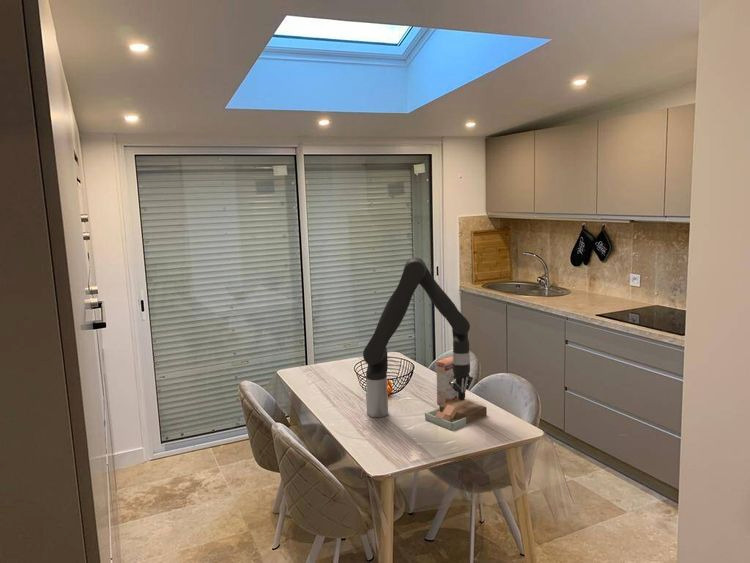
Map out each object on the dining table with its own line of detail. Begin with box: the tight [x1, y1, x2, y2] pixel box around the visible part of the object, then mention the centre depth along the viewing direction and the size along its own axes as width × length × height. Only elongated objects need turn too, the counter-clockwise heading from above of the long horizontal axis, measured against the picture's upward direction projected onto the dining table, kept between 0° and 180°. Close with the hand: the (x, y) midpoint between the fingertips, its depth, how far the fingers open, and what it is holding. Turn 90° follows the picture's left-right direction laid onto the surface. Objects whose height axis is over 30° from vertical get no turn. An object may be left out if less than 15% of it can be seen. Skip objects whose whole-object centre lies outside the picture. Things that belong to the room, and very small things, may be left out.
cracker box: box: [435, 355, 458, 405], centre depth 256 cm, size 14×6×21 cm, turn 132°
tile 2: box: [442, 405, 458, 419], centre depth 234 cm, size 4×4×2 cm
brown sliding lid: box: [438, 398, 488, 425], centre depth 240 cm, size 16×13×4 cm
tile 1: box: [435, 411, 451, 421], centre depth 232 cm, size 4×4×2 cm
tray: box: [424, 407, 467, 431], centre depth 233 cm, size 16×9×3 cm, turn 39°
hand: (461, 399), depth 239 cm, fingers closed
